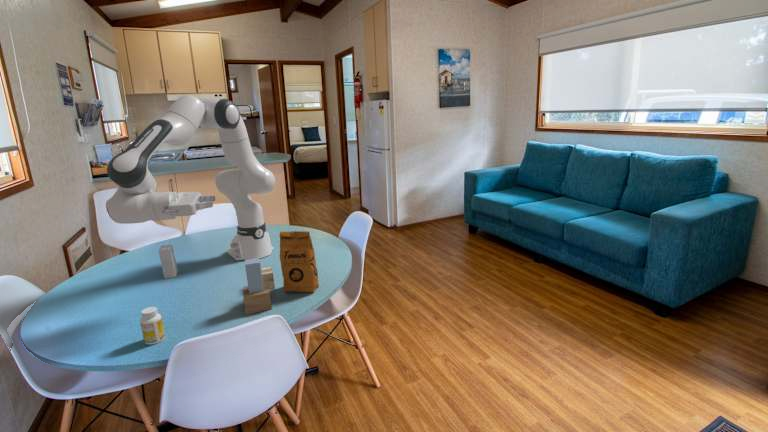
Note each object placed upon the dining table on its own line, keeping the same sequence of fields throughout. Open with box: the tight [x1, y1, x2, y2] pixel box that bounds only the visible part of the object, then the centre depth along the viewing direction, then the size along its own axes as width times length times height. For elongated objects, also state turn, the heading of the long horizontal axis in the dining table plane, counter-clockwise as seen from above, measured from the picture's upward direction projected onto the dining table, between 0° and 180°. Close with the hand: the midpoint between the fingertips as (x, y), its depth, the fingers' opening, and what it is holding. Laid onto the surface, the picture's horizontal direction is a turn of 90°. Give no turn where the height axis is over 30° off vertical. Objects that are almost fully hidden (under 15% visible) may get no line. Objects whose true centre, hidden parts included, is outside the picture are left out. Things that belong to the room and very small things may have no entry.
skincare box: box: [158, 244, 179, 279], centre depth 160 cm, size 6×4×12 cm
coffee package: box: [279, 230, 320, 293], centre depth 141 cm, size 10×12×22 cm
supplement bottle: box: [139, 306, 166, 346], centre depth 114 cm, size 5×5×10 cm
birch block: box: [261, 266, 276, 290], centre depth 147 cm, size 6×6×6 cm
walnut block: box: [242, 283, 273, 315], centre depth 132 cm, size 8×8×6 cm
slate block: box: [244, 258, 264, 294], centre depth 130 cm, size 4×4×10 cm
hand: (214, 200), depth 130 cm, fingers open, 8 cm apart
